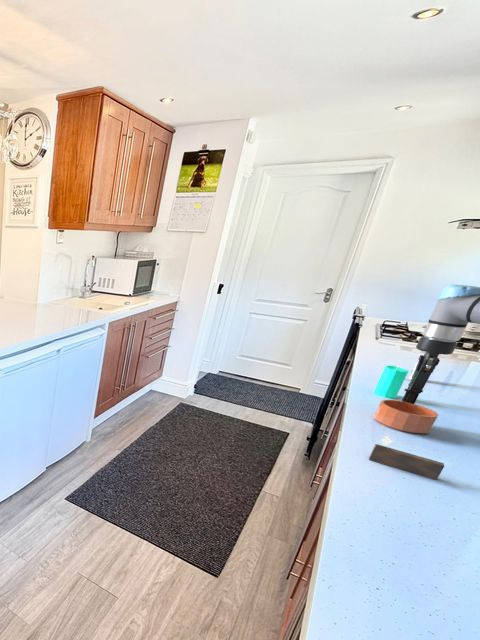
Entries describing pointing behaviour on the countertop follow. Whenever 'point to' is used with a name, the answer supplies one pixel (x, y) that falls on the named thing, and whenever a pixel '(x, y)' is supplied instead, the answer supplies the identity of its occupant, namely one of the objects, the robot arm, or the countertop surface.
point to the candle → (390, 381)
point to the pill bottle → (413, 371)
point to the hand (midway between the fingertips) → (403, 410)
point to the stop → (406, 461)
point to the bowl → (406, 416)
